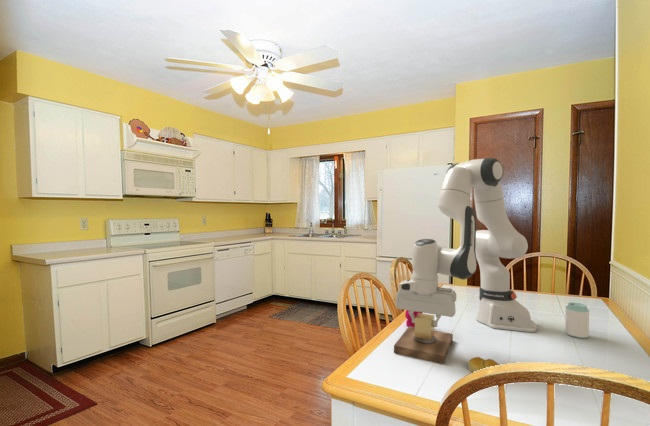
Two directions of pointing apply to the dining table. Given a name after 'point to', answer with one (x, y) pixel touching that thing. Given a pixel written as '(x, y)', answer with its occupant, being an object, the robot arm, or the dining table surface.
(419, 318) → the wooden cube block
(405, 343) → the walnut board
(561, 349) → the dining table surface
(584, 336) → the can
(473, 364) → the bread roll
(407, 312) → the pepper mill
